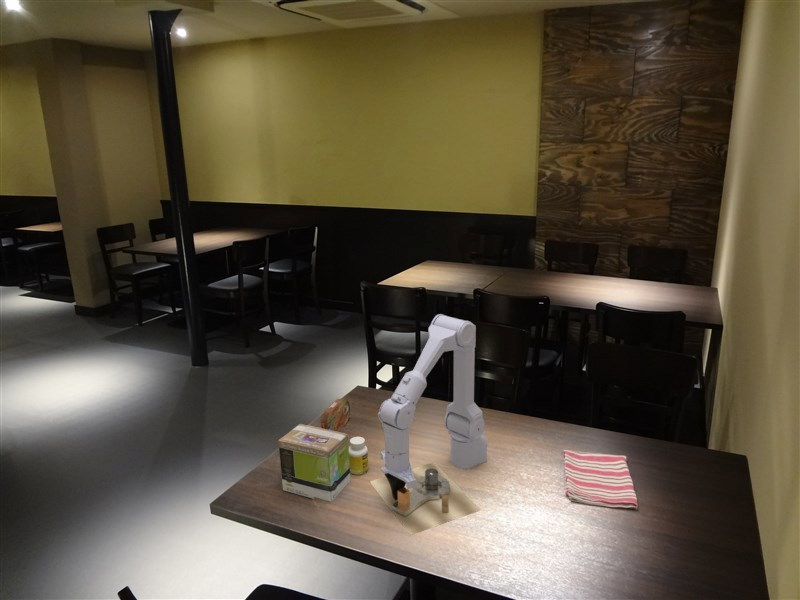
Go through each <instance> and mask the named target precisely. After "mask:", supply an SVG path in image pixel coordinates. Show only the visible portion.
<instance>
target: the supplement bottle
mask: <svg viewBox="0 0 800 600" xmlns="http://www.w3.org/2000/svg"><path fill="white" fill-rule="evenodd" d="M349 461H350V475H351V476H363V475H365V474H367V472H368V471H369V450H368V446H366V440H365V438H364V437H361V436H353V437H352V438H350V439H349Z"/></svg>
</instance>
